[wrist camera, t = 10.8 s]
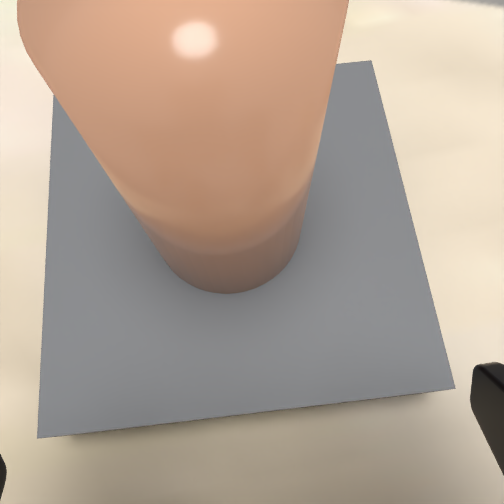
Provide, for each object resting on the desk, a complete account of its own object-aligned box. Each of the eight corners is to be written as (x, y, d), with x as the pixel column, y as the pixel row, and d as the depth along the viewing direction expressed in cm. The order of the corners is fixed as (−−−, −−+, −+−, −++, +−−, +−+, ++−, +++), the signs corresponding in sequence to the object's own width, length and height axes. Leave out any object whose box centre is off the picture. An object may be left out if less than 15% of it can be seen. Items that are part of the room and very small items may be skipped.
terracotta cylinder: (311, 283, 18) (381, 102, 7) (159, 302, 17) (6, 146, 7) (289, 151, 20) (319, -141, 9) (152, 167, 19) (25, -109, 9)
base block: (426, 392, 19) (455, 388, 16) (70, 435, 19) (36, 438, 16) (358, 101, 24) (371, 60, 21) (78, 131, 24) (53, 92, 21)
